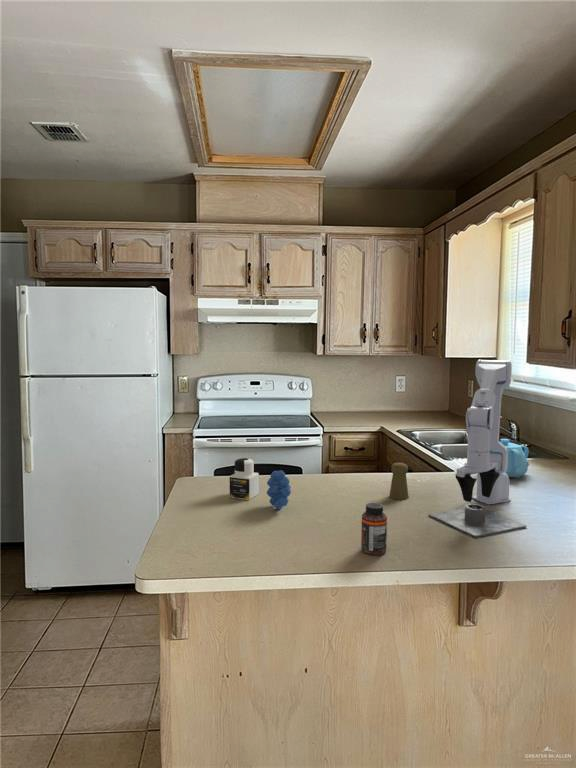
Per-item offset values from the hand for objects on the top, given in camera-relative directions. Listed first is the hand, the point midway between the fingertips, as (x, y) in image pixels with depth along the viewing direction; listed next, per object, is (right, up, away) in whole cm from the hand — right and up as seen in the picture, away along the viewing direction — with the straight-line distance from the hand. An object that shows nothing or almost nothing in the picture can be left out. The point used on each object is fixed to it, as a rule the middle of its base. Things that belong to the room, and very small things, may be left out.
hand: (476, 498), depth 141 cm
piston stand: (0, -7, 0) cm, 7 cm away
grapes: (-54, -6, +11) cm, 56 cm away
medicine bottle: (-66, -5, +23) cm, 70 cm away
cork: (-17, -5, +23) cm, 28 cm away
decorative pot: (+28, -3, +49) cm, 57 cm away
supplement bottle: (-32, -8, -19) cm, 38 cm away
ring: (0, -6, +1) cm, 6 cm away
